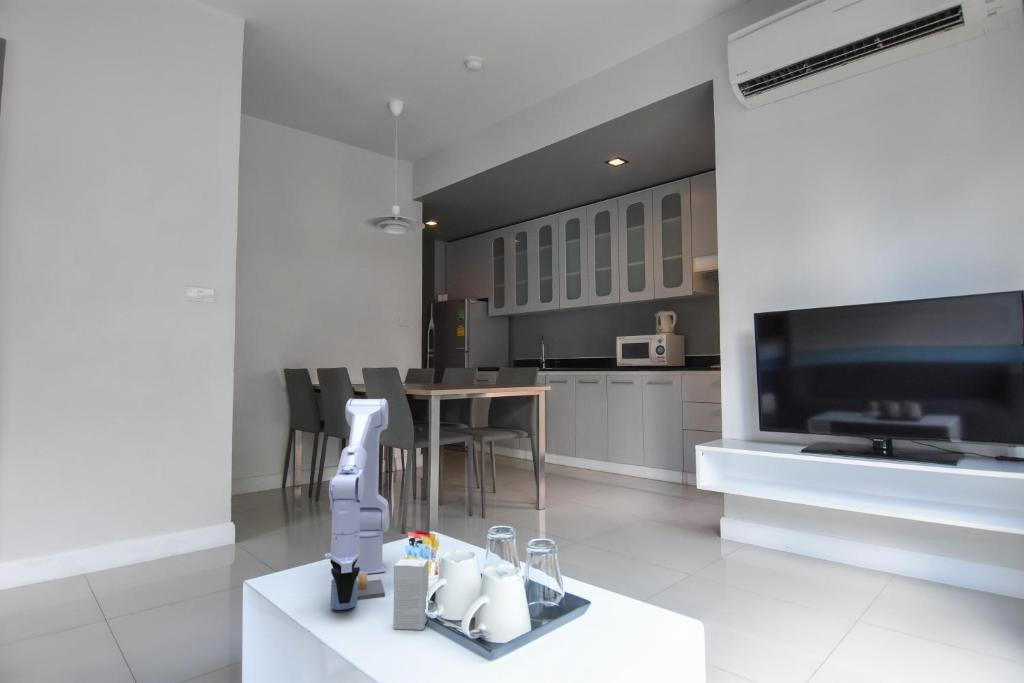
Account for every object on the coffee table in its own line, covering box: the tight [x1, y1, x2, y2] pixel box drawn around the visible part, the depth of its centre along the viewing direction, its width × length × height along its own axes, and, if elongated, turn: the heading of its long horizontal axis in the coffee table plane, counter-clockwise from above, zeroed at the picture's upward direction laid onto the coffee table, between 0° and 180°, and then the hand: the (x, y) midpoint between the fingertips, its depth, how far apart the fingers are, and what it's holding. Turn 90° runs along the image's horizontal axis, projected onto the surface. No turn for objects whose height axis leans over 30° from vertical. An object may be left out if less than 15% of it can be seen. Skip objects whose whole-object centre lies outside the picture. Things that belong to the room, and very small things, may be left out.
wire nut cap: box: [330, 577, 358, 611], centre depth 115 cm, size 5×5×5 cm
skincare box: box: [392, 558, 430, 631], centre depth 107 cm, size 6×4×12 cm
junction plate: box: [357, 573, 386, 601], centre depth 124 cm, size 9×9×4 cm
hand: (343, 597), depth 115 cm, fingers closed on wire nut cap, 5 cm apart
